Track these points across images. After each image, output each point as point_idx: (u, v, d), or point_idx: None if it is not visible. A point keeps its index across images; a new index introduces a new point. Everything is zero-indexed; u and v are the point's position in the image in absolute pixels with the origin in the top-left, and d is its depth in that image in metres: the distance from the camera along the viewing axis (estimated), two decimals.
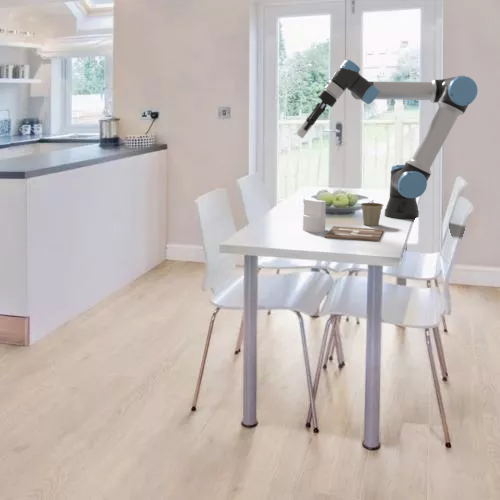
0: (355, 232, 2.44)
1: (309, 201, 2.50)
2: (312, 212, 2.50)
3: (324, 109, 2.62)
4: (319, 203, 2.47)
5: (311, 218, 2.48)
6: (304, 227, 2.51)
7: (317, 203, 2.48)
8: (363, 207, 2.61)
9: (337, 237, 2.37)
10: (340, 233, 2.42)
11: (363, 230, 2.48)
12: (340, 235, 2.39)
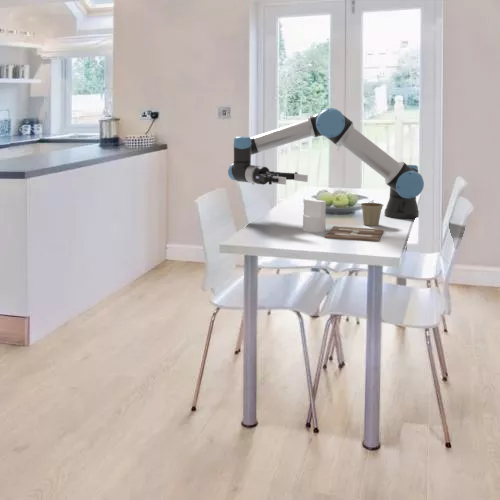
0: (355, 232, 2.44)
1: (309, 201, 2.50)
2: (312, 212, 2.50)
3: (266, 172, 2.63)
4: (319, 203, 2.47)
5: (311, 218, 2.48)
6: (304, 227, 2.51)
7: (317, 203, 2.48)
8: (363, 207, 2.61)
9: (337, 237, 2.37)
10: (340, 233, 2.42)
11: (363, 230, 2.48)
12: (340, 235, 2.39)
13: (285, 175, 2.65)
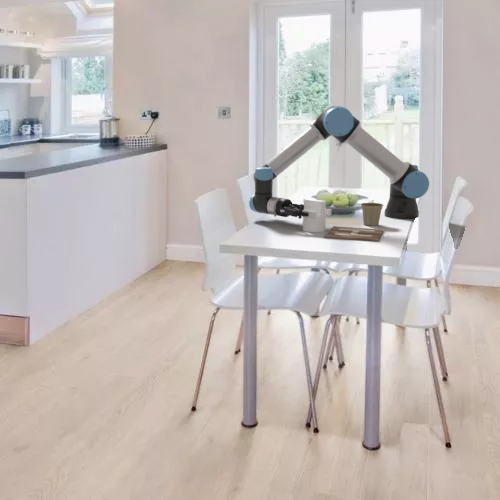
0: (355, 232, 2.44)
1: (309, 201, 2.50)
2: None
3: (289, 205, 2.57)
4: (319, 203, 2.47)
5: (311, 218, 2.48)
6: (304, 227, 2.51)
7: (317, 203, 2.48)
8: (363, 207, 2.61)
9: (337, 237, 2.37)
10: (340, 233, 2.42)
11: (363, 230, 2.48)
12: (340, 235, 2.39)
13: None
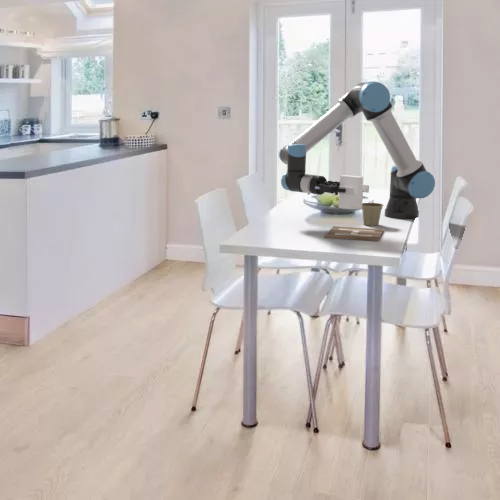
0: (355, 232, 2.44)
1: (345, 177, 2.41)
2: None
3: (324, 182, 2.48)
4: (356, 179, 2.37)
5: None
6: (340, 204, 2.41)
7: (354, 179, 2.38)
8: (363, 207, 2.61)
9: (337, 237, 2.37)
10: (340, 233, 2.42)
11: (363, 230, 2.48)
12: (340, 235, 2.39)
13: None
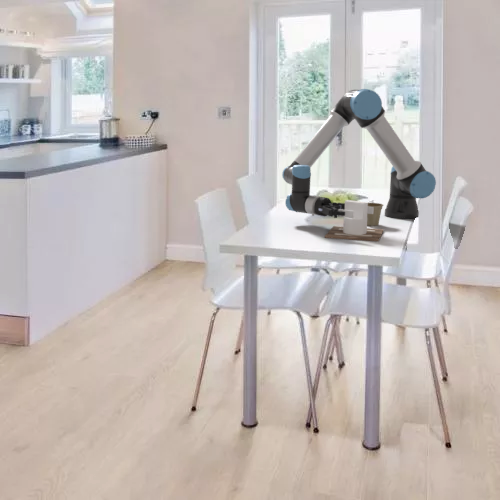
0: None
1: (350, 202, 2.42)
2: (354, 214, 2.42)
3: (328, 204, 2.49)
4: (361, 204, 2.39)
5: (353, 220, 2.39)
6: (345, 229, 2.42)
7: (359, 204, 2.39)
8: None
9: (337, 237, 2.37)
10: (340, 233, 2.42)
11: None
12: (340, 235, 2.39)
13: None
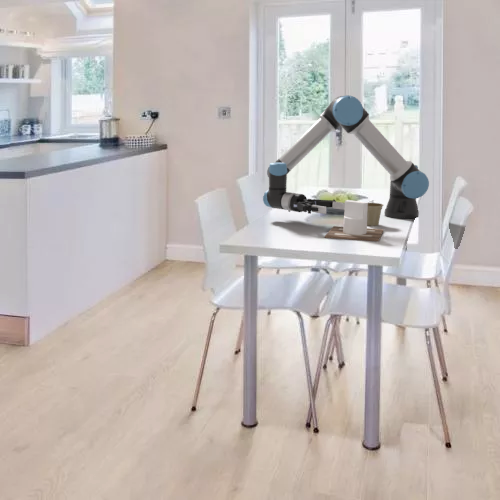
0: None
1: (350, 202, 2.42)
2: (354, 214, 2.42)
3: (303, 200, 2.57)
4: (361, 204, 2.39)
5: (353, 220, 2.39)
6: (345, 229, 2.42)
7: (359, 204, 2.39)
8: None
9: (337, 237, 2.37)
10: (340, 233, 2.42)
11: None
12: (340, 235, 2.39)
13: (323, 203, 2.59)
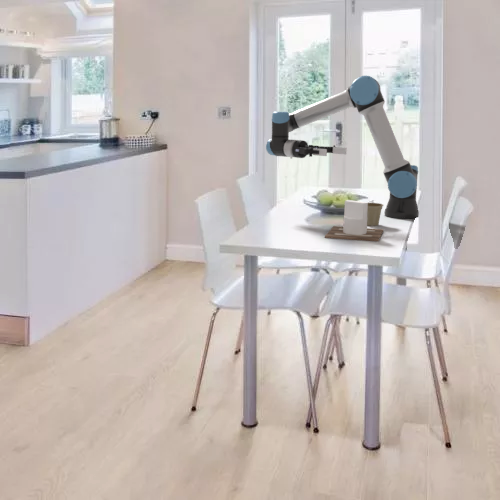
0: None
1: (350, 202, 2.42)
2: (354, 214, 2.42)
3: (305, 145, 2.68)
4: (361, 204, 2.39)
5: (353, 220, 2.39)
6: (345, 229, 2.42)
7: (359, 204, 2.39)
8: None
9: (337, 237, 2.37)
10: (340, 233, 2.42)
11: None
12: (340, 235, 2.39)
13: (324, 148, 2.70)
